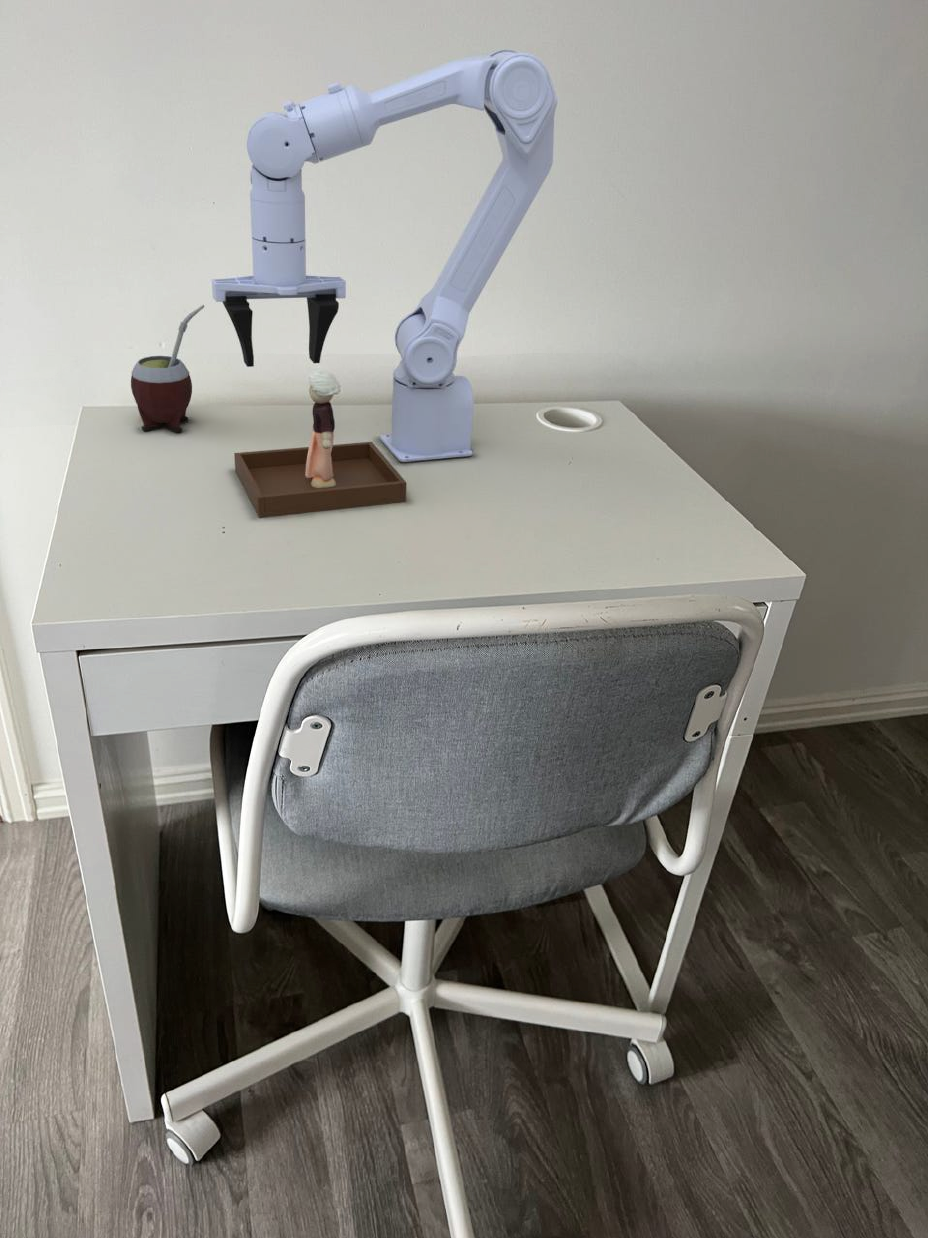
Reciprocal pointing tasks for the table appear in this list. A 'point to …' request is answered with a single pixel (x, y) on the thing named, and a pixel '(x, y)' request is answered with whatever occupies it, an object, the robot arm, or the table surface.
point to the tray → (287, 490)
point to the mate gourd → (163, 387)
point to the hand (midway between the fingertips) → (282, 362)
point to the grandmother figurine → (321, 429)
